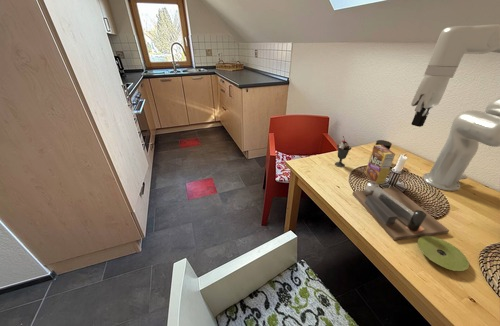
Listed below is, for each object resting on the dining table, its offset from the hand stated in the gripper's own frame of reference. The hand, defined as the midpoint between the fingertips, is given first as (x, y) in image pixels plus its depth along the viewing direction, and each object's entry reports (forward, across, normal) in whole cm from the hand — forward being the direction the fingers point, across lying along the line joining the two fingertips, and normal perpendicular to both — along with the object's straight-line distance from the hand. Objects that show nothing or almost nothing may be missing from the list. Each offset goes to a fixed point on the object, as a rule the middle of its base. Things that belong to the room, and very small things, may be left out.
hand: (416, 125), depth 75 cm
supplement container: (+27, -15, -16) cm, 35 cm away
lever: (+25, +20, +9) cm, 33 cm away
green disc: (+27, +24, +27) cm, 45 cm away
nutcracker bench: (+27, +17, +10) cm, 33 cm away
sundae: (+27, +6, -23) cm, 36 cm away
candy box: (+27, +3, -6) cm, 28 cm away
